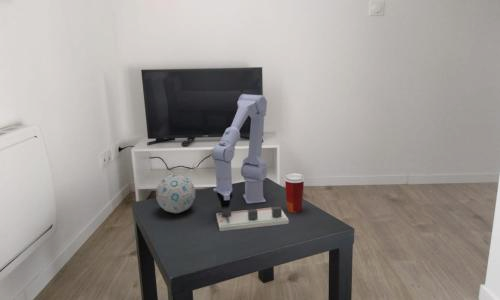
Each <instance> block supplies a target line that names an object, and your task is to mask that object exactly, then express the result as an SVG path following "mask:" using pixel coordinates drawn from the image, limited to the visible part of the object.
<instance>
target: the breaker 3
mask: <svg viewBox="0 0 500 300" xmlns="http://www.w3.org/2000/svg"><path fill="white" fill-rule="evenodd" d="M271 208H272V216H273V217H279V216H282V211H283V209H282V207H281V206H272V207H271Z"/></svg>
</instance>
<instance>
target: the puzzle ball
mask: <svg viewBox="0 0 500 300" xmlns="http://www.w3.org/2000/svg"><path fill="white" fill-rule="evenodd" d="M155 196H156V201H157V204H158V206H159V207H160V208H161V209H163V210H164V211H166V212H168V213H173V214H180V213H183V212H185V211H186V210H189V209H190V208H191V207H192V205H193V204H194V201H196V189H195V186H194V184H193V182H192V181H191V179H189V178H188V177H186V176H184V175H181V174H175V173H174V174H171V175H167V176H165V177H164V178H162V180H161V181H160V182H159V183H158V185H157V187H156V191H155Z"/></svg>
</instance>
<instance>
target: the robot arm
mask: <svg viewBox="0 0 500 300" xmlns="http://www.w3.org/2000/svg"><path fill="white" fill-rule="evenodd" d="M236 103H237V110H236V114H235V115H234V118H233V121H232V123H231V125H230V126H229V127H227V128H226V129H225V131H224V133H223V135H222V136H221V139H220V141H219V142H218V144H216V145H215V146H214V147H213V148H212V149H211V150H212V151H211V153H210V155H211V158H212V160H213V164H214V166H215V180H216V181H215V183H216V187H214V188H213V192H216V196H217V198H218V200H219V202H220V208H221V207H227V206H231V205H230V204H231V200H232V199H233V196H234V194H233V188H234V187H233V176H232V160H233V159H234V157H235V150H236V148H235V147H236V145H237V143H238V141H239V139H240V137H241V133H240V130H241V128H242V127H243V125H244V123H245V121H246V120H247V119H248V117H250V129H249V143H248V144H249V145H248V155H247V157H245V158H244V159H243V160H242V164H241V167H240V174H241V177H243V180H245V181H244V192H245V193H244V194H242V197H243V198H244V200H245V203H246V204H258V203H266V201H267V200H266V199H265V198H264V187H263V186H264V181H265V179H266V178H267V175H268V169H267V161H266V160H264V158H262V148H263V147H262V146H263V136H264V135H263V134H264V125H265V124H264V122H265V116H266V114H267V105H268V100H267V99H266V97H265V96H264V94H263V95H262V94H246V93H242V94H241V95H240V96H239V97H238V101H237V102H236Z"/></svg>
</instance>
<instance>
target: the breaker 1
mask: <svg viewBox="0 0 500 300" xmlns="http://www.w3.org/2000/svg"><path fill="white" fill-rule="evenodd" d="M220 209H221V213H222V217H224V216H231V212H232V211H231V210H232V209H231V205H229V206H227V207H221V206H220Z"/></svg>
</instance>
